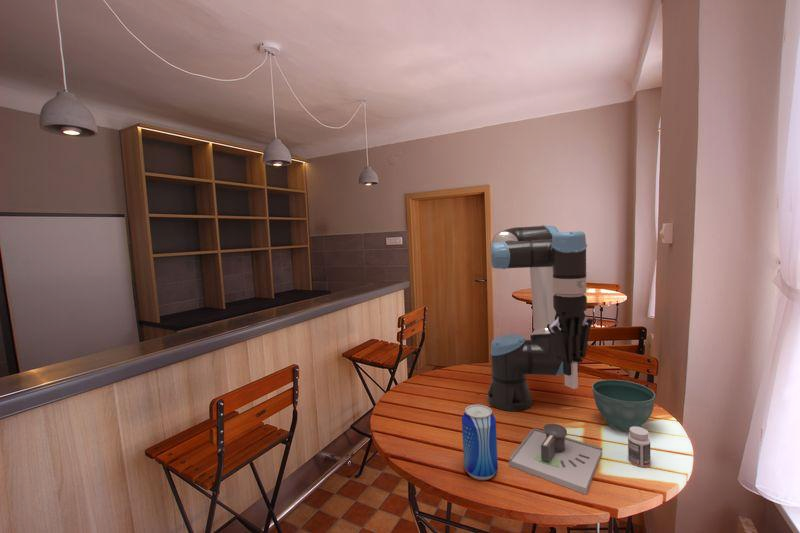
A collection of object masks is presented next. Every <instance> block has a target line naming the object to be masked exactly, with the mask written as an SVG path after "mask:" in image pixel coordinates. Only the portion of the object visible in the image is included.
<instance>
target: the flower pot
mask: <svg viewBox="0 0 800 533" xmlns="http://www.w3.org/2000/svg"><path fill="white" fill-rule="evenodd" d="M591 389H592V390H591V391H592V395H593V399H594V403H595V406H596V408H597V409H598V411H599V413H600V415H601V416H602V417H603V418H604V421H605V423H606V425H608V426H609V427H610V428H612V429H615V430H618V431H622V432H628V433H629V429H630V427H633V426H636V427H641V428H643V425H644V424H645V423H646V422H648V420H649V419H650V417H651V416H652V414H653V411H654V407H655V400H656V393H655V392H654V391H653V390H652V389H650V388H649V387H647V386H645V385H642V384H640V383H636V382H634V381H628V380H623V379H622V380H621V379H602V380H597V381H595V382H594V383H592V386H591Z"/></svg>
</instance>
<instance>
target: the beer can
mask: <svg viewBox="0 0 800 533" xmlns="http://www.w3.org/2000/svg"><path fill="white" fill-rule="evenodd" d="M461 430H462V452H463V467H464V470H465V471H466V472H467V474H468V475H469V476H470V477H471V478H473V479H475V480H479V481H487V480H491V479H492V478H493V477H494V476H495V474H497V472H498V469H499V468H498V466H499V465H498V444H497V443H498V439H497V420H496V417H495V416H494V414H493V412H492V408H490V407H489V406H487V405H485V404H478V403H477V404H471V405H468V406H467V407H465V409H464V413H463V414H462V417H461Z"/></svg>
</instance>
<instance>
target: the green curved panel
mask: <svg viewBox="0 0 800 533" xmlns="http://www.w3.org/2000/svg"><path fill="white" fill-rule="evenodd" d="M579 456H581V457H584V458H587V459H589V458H590V457H587V456H584V455H581V454H579ZM534 459H535V460H537V461H539V462H541V461H542V462H541V463H543V464H546V465H550V464H551V466H553V467H558V468H559V460H558V459H553V458H551V459H550V461H549V462H547V461H544V460H542V459H541V453H540V454H539V455H537V456H536V457H534ZM575 459H576V460H577V461H579V462H581V463H583V464H585V462H584V461H582V460H580V459H578V458H575ZM568 461H569V462H570V463H571V464H572V465H573V466H574V467H577V465H576V464H574V463H573V462H572V461H571V460H568ZM560 462H561V464H562V466H563V467H566V466H565V464H564V462H563V461H561V460H560Z"/></svg>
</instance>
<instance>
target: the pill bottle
mask: <svg viewBox="0 0 800 533" xmlns="http://www.w3.org/2000/svg"><path fill="white" fill-rule="evenodd" d="M627 452H628V454H627V458H628V461H629V462H630V463H631V464H632V465H635V466H637V467H640V468H647V467H650V466H651V462H652V460H651V440H650V438H649V431H648V430H647V429H646V428H643V427H642V428H641V427H636V426H633V427H630V429H629V432H628V435H627Z"/></svg>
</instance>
